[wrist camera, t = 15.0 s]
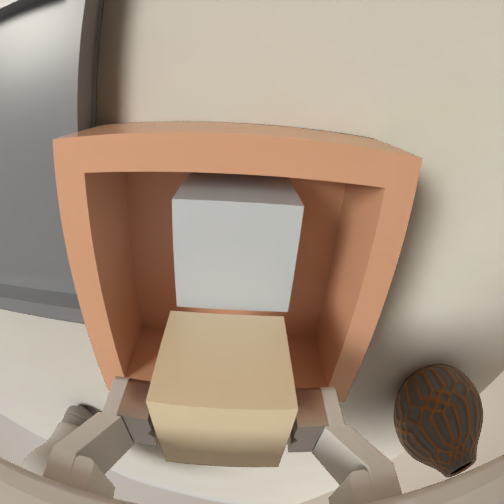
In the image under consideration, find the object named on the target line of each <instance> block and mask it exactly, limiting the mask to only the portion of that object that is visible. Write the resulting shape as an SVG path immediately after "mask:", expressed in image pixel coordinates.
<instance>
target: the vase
mask: <svg viewBox="0 0 504 504" xmlns="http://www.w3.org/2000/svg"><path fill="white" fill-rule="evenodd" d="M482 423H483V408H482V403H481V399H480V396H479V393H478V391H477V389H476V388H475V386H474V384H473V383H472V382H471V380H470V379H469V378H468V377H467V376H466V375H465V374H464V373H462V372H461V371H460V370H458V369H456V368H454V367H451V366H447V365H431V366H428V367H425V368H423V369H421V370H419V371H417V372H416V373H414V374H413V375H412V376H410V377H409V378H408V379H407V380H406V381H405V383H404V384H403V386H402V387H401V389H400V391H399V393H398V395H397V398H396V401H395V404H394V425H395V429H396V432H397V435H398V438H399V440H400V442H401V444H402V446H403V447H404V449H405V450H406V451H407V452H408V453H409V454H410V455H411V456H412V457H413V458H414V459H416V460H417V461H419V462H421V463H423V464H425V465H427V466H430V467H432V468H434V469H436V470H438V471H439V472H441V473H442V474H443V475H444V476H445V477H452V476H455V475H457V474H459V473H461V472H462V471H464V470H466V469H467V468H468V467H470V466H471V465H472V464H474V463H475V461H476V452H477V444H478V440H479V436H480V432H481V428H482Z"/></svg>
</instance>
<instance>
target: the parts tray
mask: <svg viewBox="0 0 504 504" xmlns="http://www.w3.org/2000/svg"><path fill="white" fill-rule="evenodd" d="M103 2H104V0H0V309H4V310H9V311H13V312H18V313H23V314H28V315H34V316H39V317H45V318H50V319H56V320H62V321H68V322H75V323H81V324H85V322H84V319H83V315H82V312H81V308H80V305H79V301H78V297H77V293H76V290H75V286H74V282H73V277H72V273H71V269H70V264H69V260H68V255H67V250H66V245H65V239H64V234H63V228H62V222H61V216H60V209H59V202H58V195H57V186H56V177H55V166H54V154H53V139H55V138H59V137H62V136H65V135H68V134H72V133H75V132H79V131H82V130H86V129H89V128H93V127H96V79H97V60H98V46H99V35H100V26H101V17H102V9H103Z"/></svg>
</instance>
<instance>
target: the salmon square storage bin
mask: <svg viewBox="0 0 504 504" xmlns="http://www.w3.org/2000/svg"><path fill="white" fill-rule="evenodd" d="M53 154H54V166H55V177H56V186H57V195H58V202H59V209H60V216H61V222H62V228H63V234H64V239H65V245H66V250H67V255H68V260H69V264H70V269H71V273H72V277H73V282H74V286H75V290H76V293H77V297H78V301H79V305H80V308H81V312H82V315H83V319H84V322H85V325H86V329H87V332H88V335H89V338H90V341H91V344H92V347H93V350H94V353H95V356H96V359H97V362H98V365H99V367H100V370H101V373H102V375H103V378H104V381H105V383H106V386H107V388H108V390H110V388H111V386H112V383H113V380H114V379H115V377H116V376H120V377H126V378H132V379H139V380H145V381H151V379H152V375H153V371H154V367H155V364H156V360H157V356H158V353H159V349H160V345H161V342H162V338H163V335H164V331H165V328H166V324H167V321H168V317H169V314H170V311H183V312H197V313H213V314H232V315H255V316H284V321H285V327H286V333H287V340H288V346H289V352H290V358H291V365H292V371H293V378H294V384H295V388H314V387H319V388H322V387H334V388H335V389H336V393H337V396H338V400H339V402H344V401H345V399H346V397H347V395H348V393H349V391H350V388H351V386H352V384H353V382H354V379H355V377H356V375H357V373H358V370H359V368H360V365H361V363H362V361H363V358H364V356H365V353H366V351H367V348H368V346H369V343H370V341H371V338H372V336H373V333H374V331H375V328H376V325H377V322H378V320H379V317H380V314H381V311H382V309H383V306H384V303H385V300H386V297H387V294H388V291H389V288H390V285H391V282H392V279H393V275H394V272H395V269H396V266H397V262H398V259H399V255H400V252H401V248H402V245H403V241H404V238H405V234H406V230H407V226H408V222H409V218H410V214H411V210H412V206H413V201H414V197H415V192H416V188H417V183H418V178H419V173H420V168H421V162H422V158H421V157H419V156H416V155H414V154H411V153H409V152H407V151H404V150H402V149H399V148H397V147H394V146H392V145H389V144H387V143H384V142H381V141H379V140H376V139H373V138H369V137H363V136H357V135H351V134H344V133H337V132H330V131H323V130H315V129H306V128H297V127H288V126H277V125H264V124H250V123H231V122H197V121H169V122H135V123H117V124H105V125H101V126H97V127H93V128H89V129H86V130H82V131H79V132H75V133H72V134H68V135H65V136H62V137H59V138H55V139H53ZM190 172H200V173H226V174H246V175H262V176H276V177H289V179H290V181H291V183H292V185H293V186H294V188H295V190H296V192H297V194H298V196H299V198H300V199H301V201H302V203H303V205H304V211H303V218H302V225H301V232H300V239H299V246H298V252H297V259H296V265H295V272H294V278H293V284H292V290H291V296H290V302H289V308H288V312H273V311H247V310H226V309H208V308H193V307H178V306H177V300H176V286H175V270H174V251H173V225H172V198H173V197H174V195H175V194H176V192H177V191H178V189H179V188H180V186H181V185H182V183H183V182H184V181H185V179H186V178H187V176H188V175H189V173H190Z"/></svg>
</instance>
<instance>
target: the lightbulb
mask: <svg viewBox="0 0 504 504" xmlns="http://www.w3.org/2000/svg"><path fill="white" fill-rule="evenodd" d="M91 417H92V414H91V413H90V412H89V411H88V409H87V408H85V407H83V406H70V407H69V408H68V410H67V411H66V414H65V415H64V418H63V420H62V422H61V423H59V424H58V425H57V427H56V429H55V431H54V433H53V434H52V436H51V437H50V438H49V439H48V440H47V441H46V442H45V443H44V444H43V445H41V446H39V447H38V448H36V449H35V450H33V451H32V452H31V453H30V454H28V455H27V457H26V458H25V459H24V462H23V464H22V468H24V469H26V470H29V471H31V472H34V473H36V474H38V475H41V476H43V474H44V471H45V468H46V465H47V462H48V459H49V456H50V454H51V451H52V448H53V446H54V445H55V444H56V443H58V442H59V441H60V440H62V439H63V438H64V437H66V436H67V435H68V434H70V433H71V432H72V431H74V430H75V429H76V428H78V427H79V426H80V425H82V424H83V423H84V422H86V421H87V420H88V419H90V418H91Z"/></svg>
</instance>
